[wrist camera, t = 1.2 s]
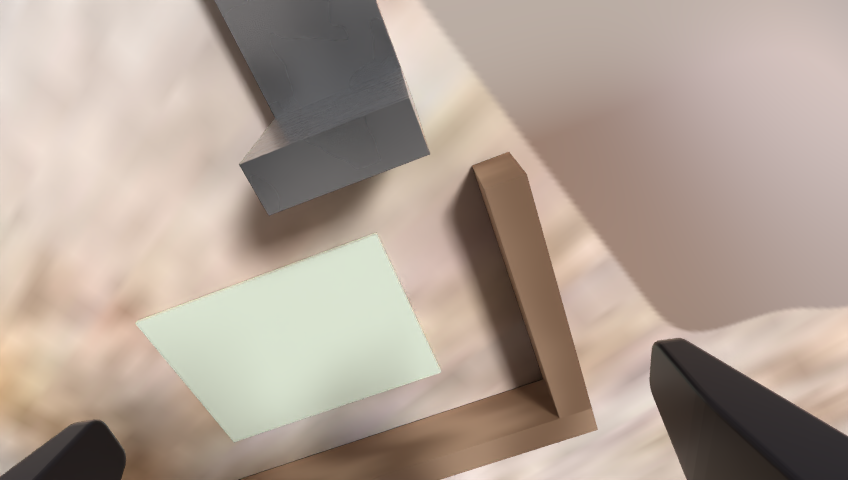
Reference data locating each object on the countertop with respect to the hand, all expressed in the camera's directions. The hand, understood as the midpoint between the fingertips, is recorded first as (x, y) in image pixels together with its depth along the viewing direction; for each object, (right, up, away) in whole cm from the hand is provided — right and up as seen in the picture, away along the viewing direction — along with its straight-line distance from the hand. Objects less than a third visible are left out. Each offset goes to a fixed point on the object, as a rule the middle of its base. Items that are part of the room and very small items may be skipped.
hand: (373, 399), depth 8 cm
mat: (-5, -2, +14) cm, 15 cm away
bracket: (-3, +9, +8) cm, 13 cm away
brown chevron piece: (-3, -3, +15) cm, 15 cm away
